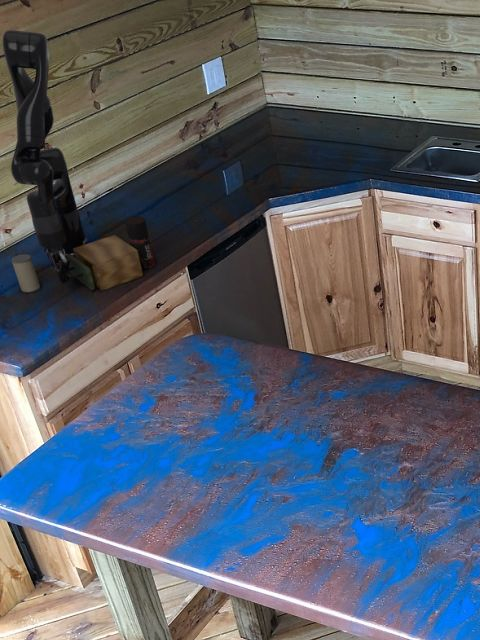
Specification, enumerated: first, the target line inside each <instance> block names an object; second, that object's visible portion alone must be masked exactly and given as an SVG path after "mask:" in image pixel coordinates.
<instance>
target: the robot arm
mask: <svg viewBox="0 0 480 640" xmlns="http://www.w3.org/2000/svg"><path fill="white" fill-rule="evenodd" d="M2 50H3V55H4V59H5V62H6V66H7V69H8V73H9V75H10V79H11V83H12V87H13V92H14V98H15V105H16V109H17V114H16V139H17V140H16V144H15V148H14V153H13V156H12V160H11V164H10V172H11V176H12V178H13V179H14V181H15V182H16V183H18V184H20V185H25V186H36V188H37V189H36V190H33V191H31V192H29V193H28V194H27V195H26V202H27V206H28V209H29V212H30V215H31V221H32V226H33V229H34V231H35V235H36V238H37V242H38V245H39V246H40V247H42V248H43V251H44V253H45V254H46V257H47V258H48V260H49V262H50V264H51V266H52V267H53V268H54V270H55V271H56V273H57V277H58V280H59V282H60V283H62V284H66V283H69V281H70V280H69V279H68V276H67V272H68V271H67V270H69V268H70V266H69V263H70V260H69V258H67V256H66V255H67V254H71V255H72V256H74V257H75V254H74V251H73V248H76V247H79V246H82V245H85V244H88V237H86V234H85V232H84V231H85V230H84V228H83V224H82V220H81V217H80V213H79V209H78V205H77V201H76V198H75V195H74V191H73V186H72V183H71V180H70V174H69V169H68V165H67V161H66V158H65V155H64V153H63V151H62V150H61V149H60V148H59V147H50V148H46V149H45V146H46V139H47V137H49V134H50V132H51V130H52V128H53V126H54V121H55V120H54V112H53V106H52V103H51V100H50V98H49V96H48V86H49V85H48V82H49V73H50V59H51V58H50V45H49V41H48V39H47V36H46V35H45V34H43V33H41V32H40V33H39V32H34V31H26V30H18V29H17V30H16V29H9V30H6V31H5V32H4V33H3V35H2ZM26 69H27V70H35V75H34V76H35V77H34V80H33V78H32V77H31V76H30V75H29V74H28V72H27V70H26ZM54 181H55V182H54ZM66 271H67V272H66Z"/></svg>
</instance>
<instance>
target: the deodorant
mask: <svg viewBox="0 0 480 640" xmlns="http://www.w3.org/2000/svg"><path fill="white" fill-rule="evenodd" d="M124 223H125V228H126V232H127V236H128V240H129V241H128V242H129V245H130V246H132V247H133V248H135V249H136V250H137V252H138V256H139V260H140V265H141V269H142V270H148V269H151V268H153V267H155V265H156V262H155V258H154V257H155V256H154V253H153V248H152V245H151V241H150V235H149V231H148V226H147V221H146V219H145V217H144V216H132V217H128V218H127V219H125V221H124Z"/></svg>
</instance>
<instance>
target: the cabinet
mask: <svg viewBox="0 0 480 640" xmlns="http://www.w3.org/2000/svg"><path fill="white" fill-rule="evenodd" d="M73 251H74V254H75V256H74V257H75V258H76V259H77V257H76V253H77V254H78V255H80V256H81V257H82V258H84V259H85V260H86V261H88V262H89V263H91V264H92V265H93V266H94V268H95V271H96V275H97V279H98V282H99V285H97V284H96V283H94V286H95V288H97V289H99V290H100V291H105V290H108V289H111V288H113V287H116V286H120V285H122V284H125V283H127V282H130V281H133V280H136V279H139V278H141V277H143V276H144V273H143V269H141V265H140V260H139V256H138V252H137V250H136V249H135V248H133V247H132V246H131V245H130V243H128V242H126V241H125V240H123V239H122V238H120V237H118V236H117V235H115V234H114V235H111V236H107V237H104V238H101V239H98V240H95V241H92V242H89V243H87V244H85V245H82V246H79V247H76V248H73Z"/></svg>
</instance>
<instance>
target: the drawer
mask: <svg viewBox="0 0 480 640" xmlns="http://www.w3.org/2000/svg"><path fill="white" fill-rule="evenodd" d="M65 257H66V258H69V260H70V263H69V270H67V271H66V272H67V276H68V279H69V281H70V282H74V281H75V279H76V280H78V281H79V282H80V283H81V284H83V285H84V286H85V287H86V288H88V289H89V290H90V291H93V290H96V286H95V285H94V283H96V284H97V285H99V282H98V279H97V275H96V271H95V268H94V266H93V265H92V264H91V263H89V262H88V261H86V260H85V259H84V258H82V257H81V256H80V255H78V254H77V253H76V257H77V259H76V258H75V256H72V255H71V254H67V255H66V256H65ZM69 272H70V273H71V274H70V273H69Z"/></svg>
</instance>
